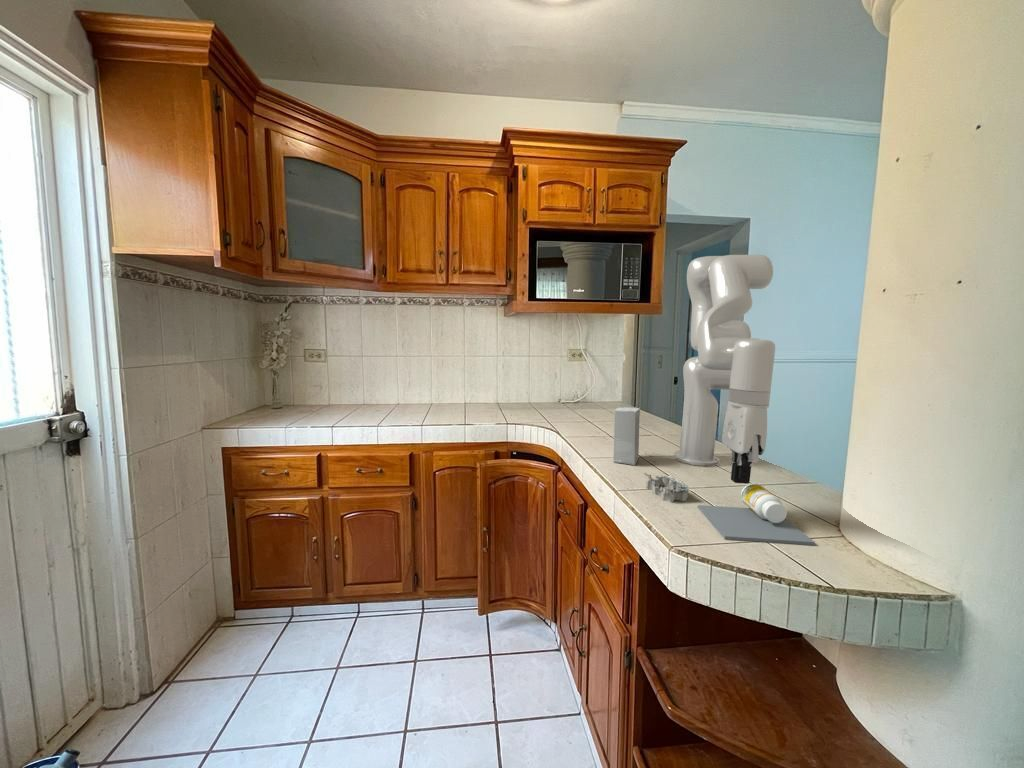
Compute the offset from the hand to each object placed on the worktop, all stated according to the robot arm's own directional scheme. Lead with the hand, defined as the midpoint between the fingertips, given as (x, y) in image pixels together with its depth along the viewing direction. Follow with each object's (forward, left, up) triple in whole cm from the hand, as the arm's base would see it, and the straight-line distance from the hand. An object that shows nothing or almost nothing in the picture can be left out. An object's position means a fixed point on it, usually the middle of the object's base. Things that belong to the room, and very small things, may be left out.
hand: (739, 481), depth 89 cm
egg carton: (-8, -13, -7) cm, 17 cm away
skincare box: (-33, -18, -7) cm, 38 cm away
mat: (+6, 0, -7) cm, 9 cm away
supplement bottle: (-2, +4, -4) cm, 6 cm away
